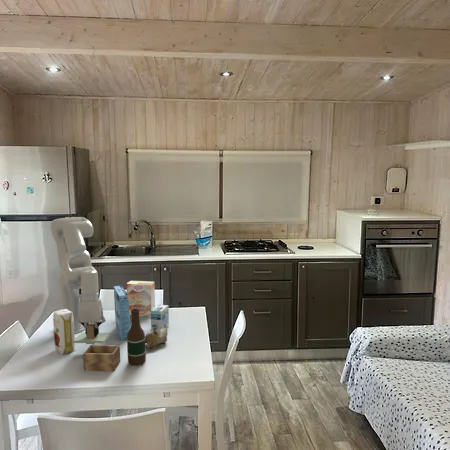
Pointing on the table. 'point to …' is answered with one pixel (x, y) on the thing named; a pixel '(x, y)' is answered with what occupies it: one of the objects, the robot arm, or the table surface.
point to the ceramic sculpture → (156, 337)
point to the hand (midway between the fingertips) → (92, 335)
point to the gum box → (122, 311)
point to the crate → (101, 358)
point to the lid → (91, 336)
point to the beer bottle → (136, 341)
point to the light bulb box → (159, 317)
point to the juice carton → (64, 331)
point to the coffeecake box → (141, 296)
